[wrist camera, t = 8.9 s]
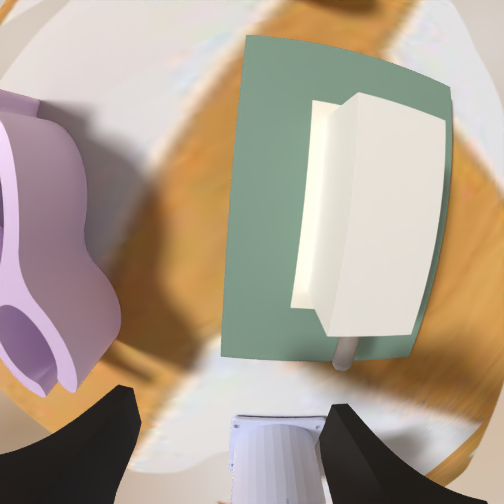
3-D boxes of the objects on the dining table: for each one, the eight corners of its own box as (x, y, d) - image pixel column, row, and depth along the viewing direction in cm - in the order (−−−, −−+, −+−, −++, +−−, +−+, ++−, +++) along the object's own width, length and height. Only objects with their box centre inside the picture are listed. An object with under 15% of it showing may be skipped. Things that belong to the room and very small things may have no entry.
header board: (402, 348, 19) (423, 375, 15) (222, 346, 18) (216, 380, 15) (440, 90, 14) (471, 79, 10) (246, 43, 14) (245, 13, 10)
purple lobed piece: (161, 319, 18) (124, 381, 11) (59, 356, 19) (19, 401, 13) (59, 78, 14) (0, 54, 7) (-22, 166, 15) (-73, 172, 8)
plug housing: (359, 345, 17) (387, 392, 12) (297, 345, 17) (310, 398, 12) (395, 133, 14) (445, 120, 9) (325, 117, 14) (358, 91, 9)
